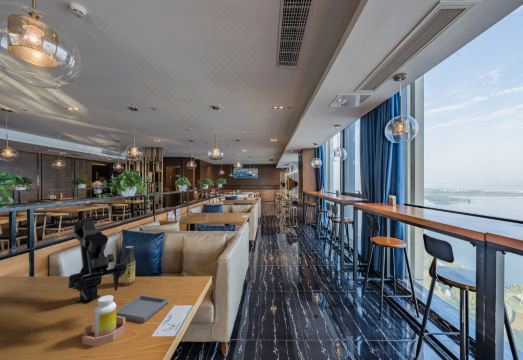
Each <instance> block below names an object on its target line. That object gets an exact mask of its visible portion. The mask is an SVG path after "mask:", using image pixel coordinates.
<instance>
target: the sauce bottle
mask: <svg viewBox="0 0 523 360" xmlns="http://www.w3.org/2000/svg"><path fill="white" fill-rule="evenodd" d="M134 249H135V247H134V246H133V245H129V246H125V247H124V250H125V252H124V254H125V255H124V257H123V258H122V262H121V263H125V264H126V265H127V269H126V271H125V274H123V275H122V276H121V285H122V286H125V287H127V286H130V285H133V284H134V283H135V279H136V258H135V255H134Z"/></svg>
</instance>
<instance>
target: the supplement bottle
mask: <svg viewBox="0 0 523 360" xmlns="http://www.w3.org/2000/svg"><path fill="white" fill-rule="evenodd" d="M116 311H117V304H116V302H115V301H114V296H113V294H112V295H110V294H107V295H103V296H100V297H98V298H97V306H96V307H95V309H94V311H93V312H94V314H93V315H94V317H93V323H94V331H93V335H94V336H93V337H95V338H97V337H100V336H104V335H107V334H110V333H113V332H114V331H116V330H117V324H116Z"/></svg>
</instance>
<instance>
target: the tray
mask: <svg viewBox="0 0 523 360" xmlns="http://www.w3.org/2000/svg"><path fill="white" fill-rule="evenodd" d="M167 304H169V298H165V297H158V296H154V295H153V296H152V295H146V294H140V295H138V296H137V297H135V298H134V299H132V300H131V301H129V302H128V303H126V304H124V305H123V306H121V307H120V308H119V309H116V316H121V317H126V320H128V321H135V322H139V323H146V322H147V321H149V320H150V319H151V318H152V317H154V316H155V315H156V314H157V313H158V312H159V311H160V310H162V309H163V308H165V306H167Z"/></svg>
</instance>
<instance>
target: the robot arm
mask: <svg viewBox="0 0 523 360" xmlns="http://www.w3.org/2000/svg"><path fill="white" fill-rule="evenodd" d="M72 233H73V235H74V237H75V239H76V240H77V241H78V242H79V248H80V255H81V265H82V268H81V269H80V271H79V272H78V273H73V274H70V275H69V277H68V281H67V288H68V289H73V290H77V291H78V292H79V298H78V299H77V300H76V302H78V303H83V304H89V303H91V302H93V301H94V300H96V299H99V298H101V295H100V294H98V286H99V285H101V284H102V278H103V277H104V276H108V275H112V274H113V277H112V279H113V287H114V292H117V291H118V285H119V281H120V278H122V275H123V274H125V271H126V269H127V265H126V264H125V263H122V262H121V263H117V264H115V265H114V267H113V268H110V269H108V268H109V265H110V263H113V262H114V261H115V256H114V253H108V254H107V255H105V250H106V248H107V244H108V242H109V237H108V236H107V235H106V234H104V233H103V232H102V231H101V230H97V228H96V222H95V221H94V219H93V218H83V219H80V220H79V221H78V222H76V223H75V224H74V225H73V228H72Z"/></svg>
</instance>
